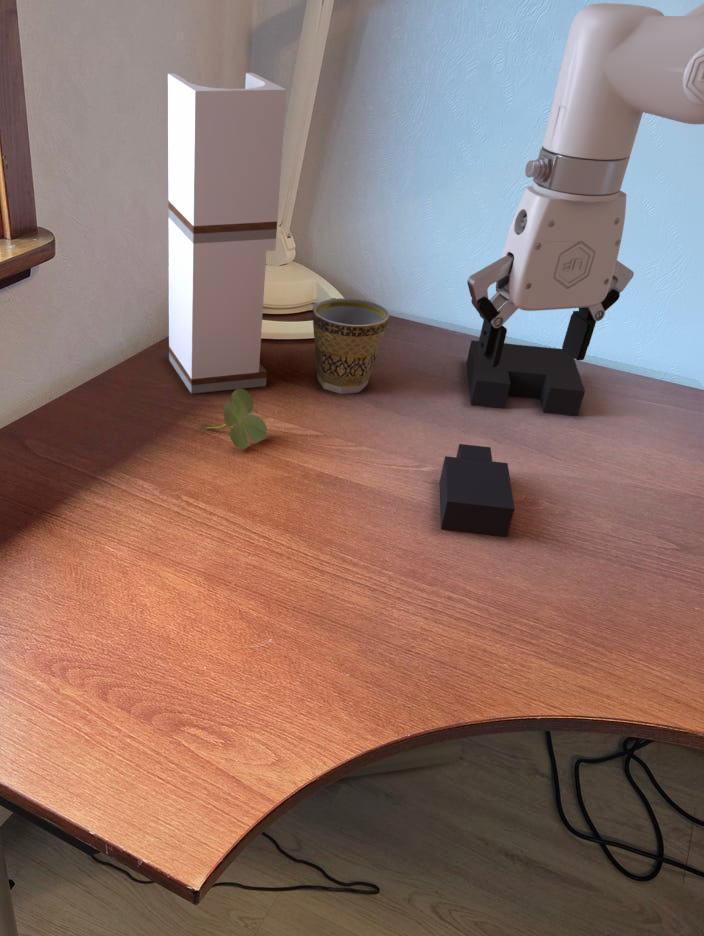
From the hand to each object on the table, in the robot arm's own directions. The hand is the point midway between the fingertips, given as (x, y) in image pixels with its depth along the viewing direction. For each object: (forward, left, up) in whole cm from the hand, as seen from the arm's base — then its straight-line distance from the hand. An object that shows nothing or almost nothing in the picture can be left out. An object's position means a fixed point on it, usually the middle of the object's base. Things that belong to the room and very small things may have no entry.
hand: (530, 358), depth 91 cm
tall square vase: (+36, -26, -17) cm, 48 cm away
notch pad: (-6, -31, -16) cm, 36 cm away
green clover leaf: (+31, -8, -17) cm, 36 cm away
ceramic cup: (+20, -28, -17) cm, 38 cm away
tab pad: (+3, +1, -16) cm, 17 cm away
